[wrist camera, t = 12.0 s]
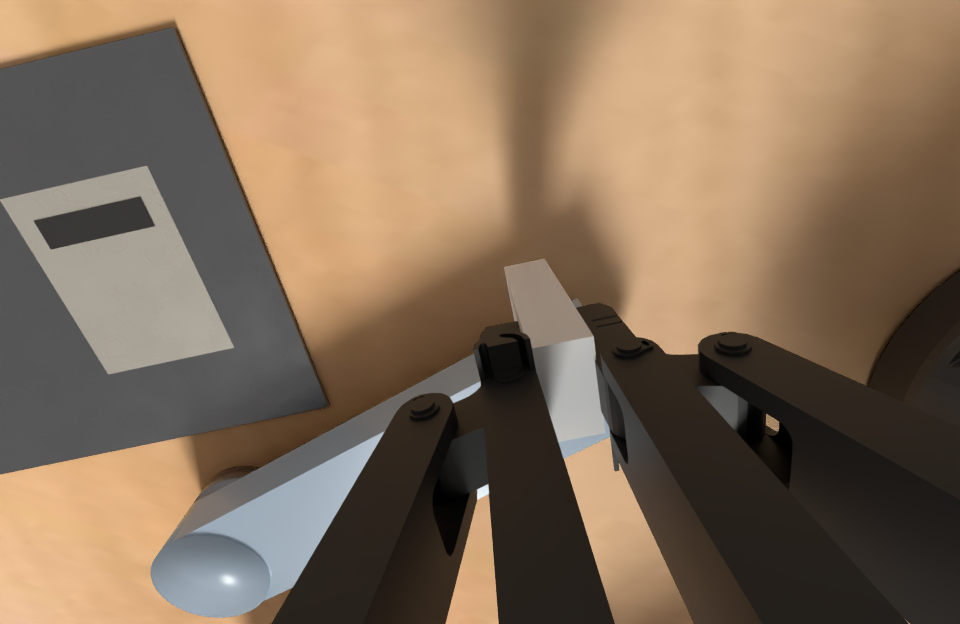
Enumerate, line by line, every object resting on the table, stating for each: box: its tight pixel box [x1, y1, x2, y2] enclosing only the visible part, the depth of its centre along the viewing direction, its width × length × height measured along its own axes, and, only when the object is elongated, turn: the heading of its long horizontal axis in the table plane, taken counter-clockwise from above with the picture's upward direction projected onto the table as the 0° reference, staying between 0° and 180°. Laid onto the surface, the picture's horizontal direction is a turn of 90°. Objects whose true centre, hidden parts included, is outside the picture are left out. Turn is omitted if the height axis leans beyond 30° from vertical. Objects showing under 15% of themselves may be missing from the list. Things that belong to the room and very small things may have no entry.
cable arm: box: [151, 298, 610, 618], centre depth 20 cm, size 5×22×3 cm, turn 120°
